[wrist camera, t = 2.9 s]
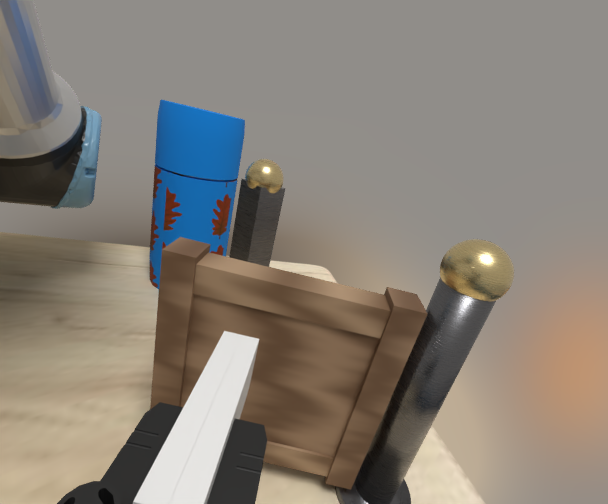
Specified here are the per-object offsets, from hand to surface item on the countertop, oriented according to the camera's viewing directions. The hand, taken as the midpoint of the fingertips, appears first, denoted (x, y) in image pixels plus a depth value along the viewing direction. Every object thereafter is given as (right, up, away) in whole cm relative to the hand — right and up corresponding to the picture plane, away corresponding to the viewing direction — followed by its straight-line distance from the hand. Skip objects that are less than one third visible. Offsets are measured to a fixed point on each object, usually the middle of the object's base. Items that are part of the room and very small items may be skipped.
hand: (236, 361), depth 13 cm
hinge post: (+8, -15, +12) cm, 21 cm away
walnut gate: (-1, -11, +12) cm, 16 cm away
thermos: (-16, 0, +36) cm, 40 cm away
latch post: (-6, -7, +24) cm, 25 cm away
